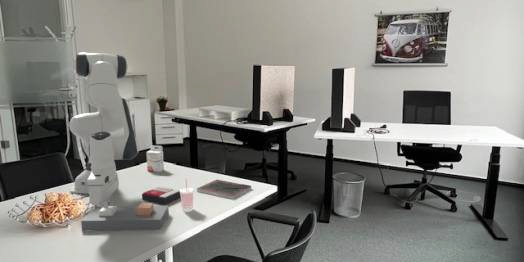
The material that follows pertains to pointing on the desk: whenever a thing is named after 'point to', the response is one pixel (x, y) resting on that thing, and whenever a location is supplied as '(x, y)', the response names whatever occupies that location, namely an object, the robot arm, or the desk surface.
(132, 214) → the console
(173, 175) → the desk surface
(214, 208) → the desk surface
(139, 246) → the desk surface
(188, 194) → the beverage cup
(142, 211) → the key terracotta
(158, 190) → the calculator
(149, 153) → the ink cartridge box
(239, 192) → the picture frame
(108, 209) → the key white
